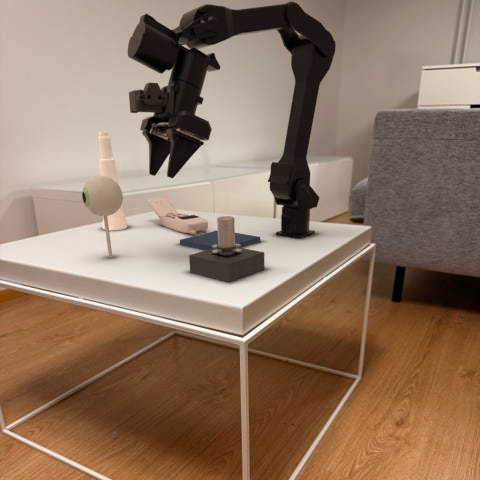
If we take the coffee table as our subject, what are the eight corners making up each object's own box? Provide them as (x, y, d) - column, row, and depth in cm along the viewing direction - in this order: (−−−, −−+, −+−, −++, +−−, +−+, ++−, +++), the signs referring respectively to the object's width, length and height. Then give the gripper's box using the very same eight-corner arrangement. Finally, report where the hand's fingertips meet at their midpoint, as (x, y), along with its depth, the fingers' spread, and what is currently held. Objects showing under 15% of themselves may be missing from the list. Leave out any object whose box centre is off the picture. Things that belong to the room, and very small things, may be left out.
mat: (219, 234, 106) (219, 229, 106) (260, 241, 99) (260, 236, 98) (179, 244, 98) (179, 239, 97) (221, 253, 90) (221, 248, 90)
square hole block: (226, 260, 85) (225, 244, 84) (264, 269, 80) (264, 252, 79) (189, 272, 79) (188, 255, 78) (229, 282, 74) (228, 264, 72)
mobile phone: (165, 195, 124) (213, 206, 104) (167, 218, 126) (215, 233, 107) (144, 198, 121) (189, 210, 101) (146, 221, 123) (191, 237, 104)
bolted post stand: (226, 264, 83) (224, 213, 80) (252, 269, 80) (251, 216, 76) (202, 271, 79) (199, 218, 76) (228, 278, 76) (226, 222, 72)
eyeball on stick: (85, 256, 90) (73, 176, 84) (120, 250, 94) (110, 173, 88) (100, 264, 85) (87, 178, 79) (136, 257, 89) (126, 175, 83)
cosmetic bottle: (120, 230, 112) (109, 132, 103) (98, 230, 113) (84, 132, 105) (131, 225, 117) (121, 131, 109) (110, 225, 119) (98, 132, 110)
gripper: (125, 72, 84) (103, 159, 86) (161, 55, 68) (133, 161, 71) (180, 98, 90) (158, 179, 92) (224, 88, 74) (197, 185, 77)
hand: (160, 176), depth 83 cm, fingers open, 9 cm apart
